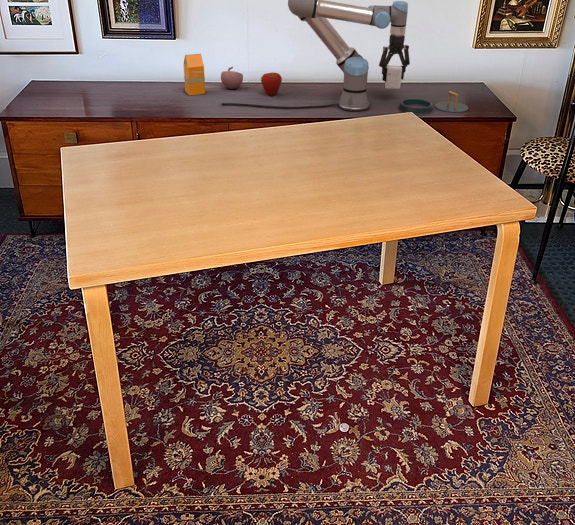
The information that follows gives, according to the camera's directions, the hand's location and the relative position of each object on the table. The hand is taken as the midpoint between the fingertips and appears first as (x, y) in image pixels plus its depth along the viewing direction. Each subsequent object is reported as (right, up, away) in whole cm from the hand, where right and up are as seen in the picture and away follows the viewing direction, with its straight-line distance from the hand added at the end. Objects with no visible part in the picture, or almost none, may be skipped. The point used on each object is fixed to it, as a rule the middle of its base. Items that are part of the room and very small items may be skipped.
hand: (392, 79), depth 328 cm
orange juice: (-104, -4, +11) cm, 104 cm away
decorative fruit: (-85, 0, +19) cm, 87 cm away
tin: (+10, -17, -7) cm, 21 cm away
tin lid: (+29, -16, -6) cm, 33 cm away
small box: (0, -4, +2) cm, 4 cm away
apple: (-63, -5, +10) cm, 64 cm away
